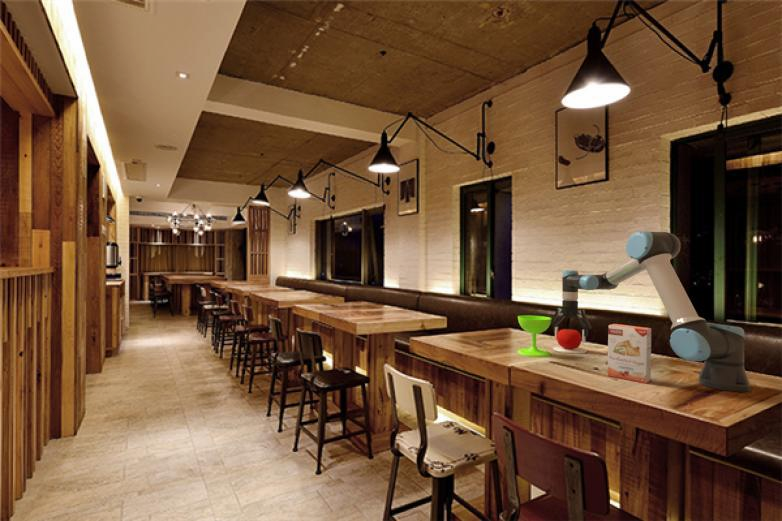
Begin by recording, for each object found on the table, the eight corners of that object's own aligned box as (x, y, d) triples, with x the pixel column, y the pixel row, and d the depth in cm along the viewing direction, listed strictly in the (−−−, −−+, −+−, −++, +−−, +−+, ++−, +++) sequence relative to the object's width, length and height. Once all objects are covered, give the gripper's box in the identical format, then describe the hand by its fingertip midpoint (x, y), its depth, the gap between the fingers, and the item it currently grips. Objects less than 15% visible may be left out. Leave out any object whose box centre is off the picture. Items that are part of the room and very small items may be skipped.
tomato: (585, 348, 214) (585, 328, 214) (574, 351, 206) (574, 330, 206) (564, 345, 223) (564, 325, 223) (552, 348, 215) (552, 327, 215)
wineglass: (556, 353, 206) (556, 317, 206) (542, 358, 195) (543, 320, 195) (525, 348, 217) (526, 314, 217) (511, 353, 206) (512, 317, 206)
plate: (581, 355, 203) (581, 353, 203) (548, 350, 213) (548, 348, 213) (590, 350, 215) (590, 348, 215) (558, 345, 225) (558, 344, 225)
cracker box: (607, 376, 166) (607, 324, 166) (612, 373, 170) (613, 323, 170) (646, 384, 156) (647, 329, 156) (651, 381, 160) (651, 327, 160)
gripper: (598, 301, 209) (597, 342, 209) (548, 298, 225) (548, 336, 225) (594, 301, 203) (593, 344, 203) (543, 298, 219) (543, 338, 219)
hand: (569, 340), depth 214 cm, fingers open, 13 cm apart
